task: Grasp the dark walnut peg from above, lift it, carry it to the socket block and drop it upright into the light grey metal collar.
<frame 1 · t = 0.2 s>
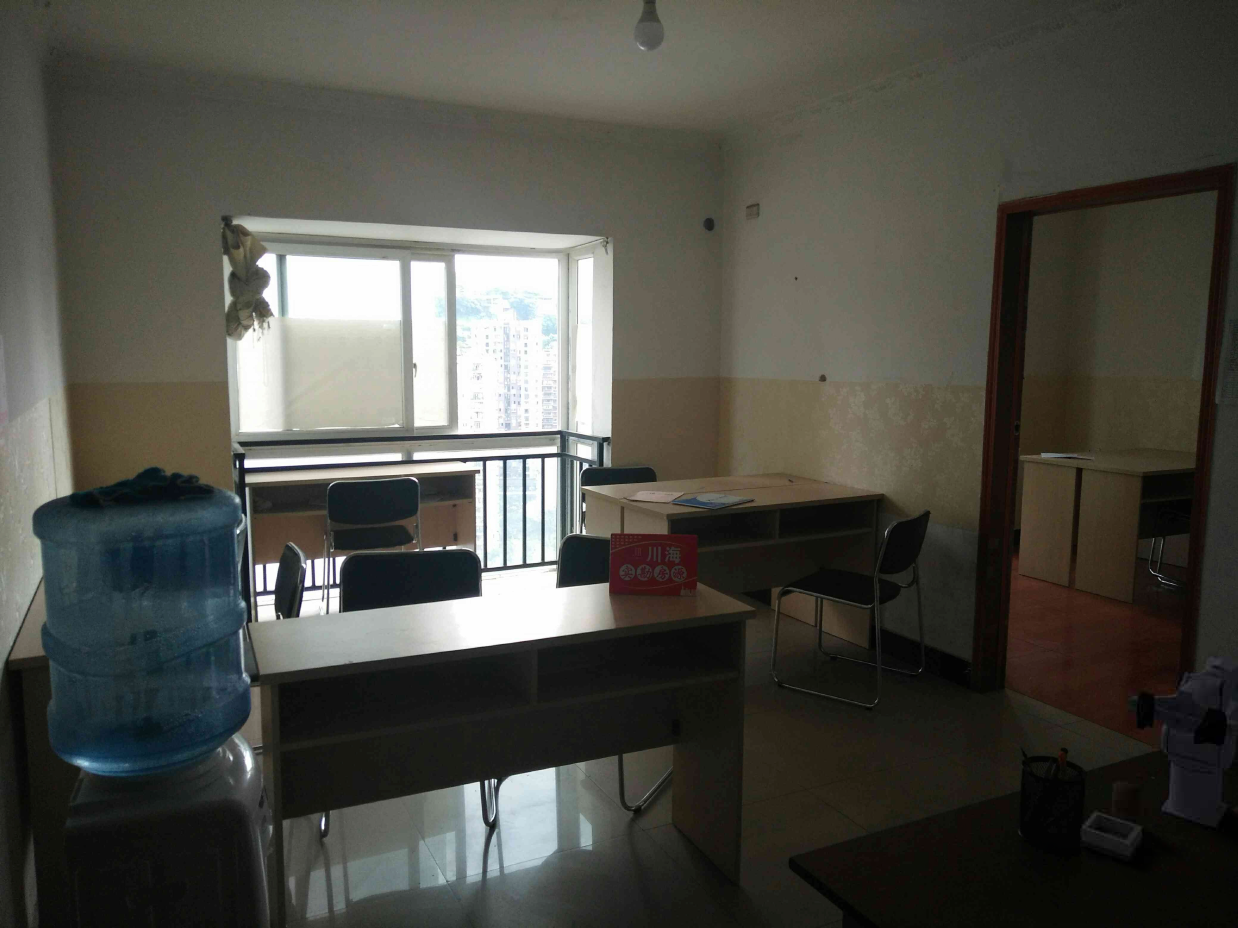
hand: (1167, 729, 134), 21 cm above the table, tool horizontal, fingers open, 7 cm apart
socket block: (1110, 844, 140), on the table
walnut peg: (1124, 826, 145), on the table
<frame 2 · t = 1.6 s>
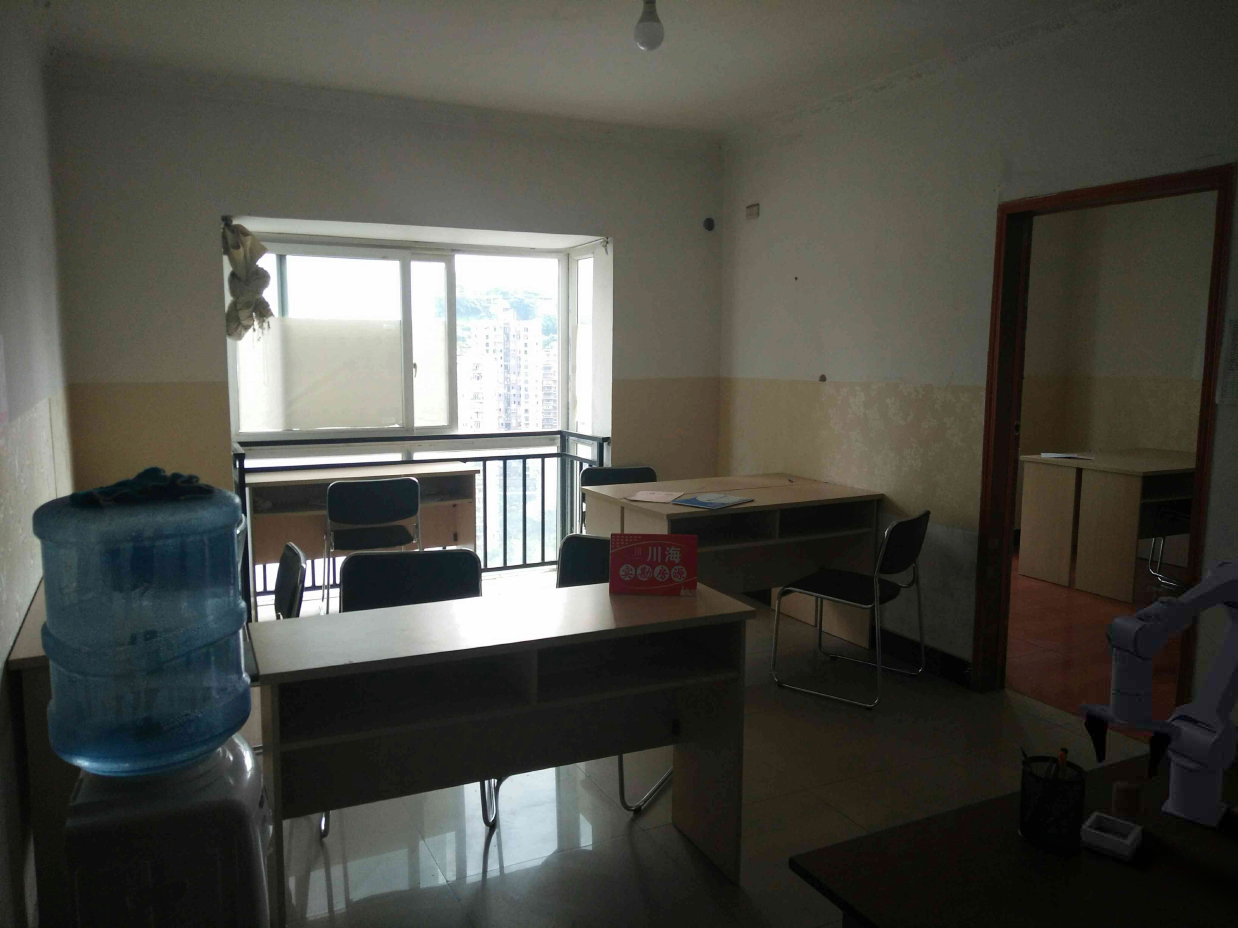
hand: (1126, 767, 144), 10 cm above the table, tool pointing down, fingers open, 7 cm apart
nothing on the table moved.
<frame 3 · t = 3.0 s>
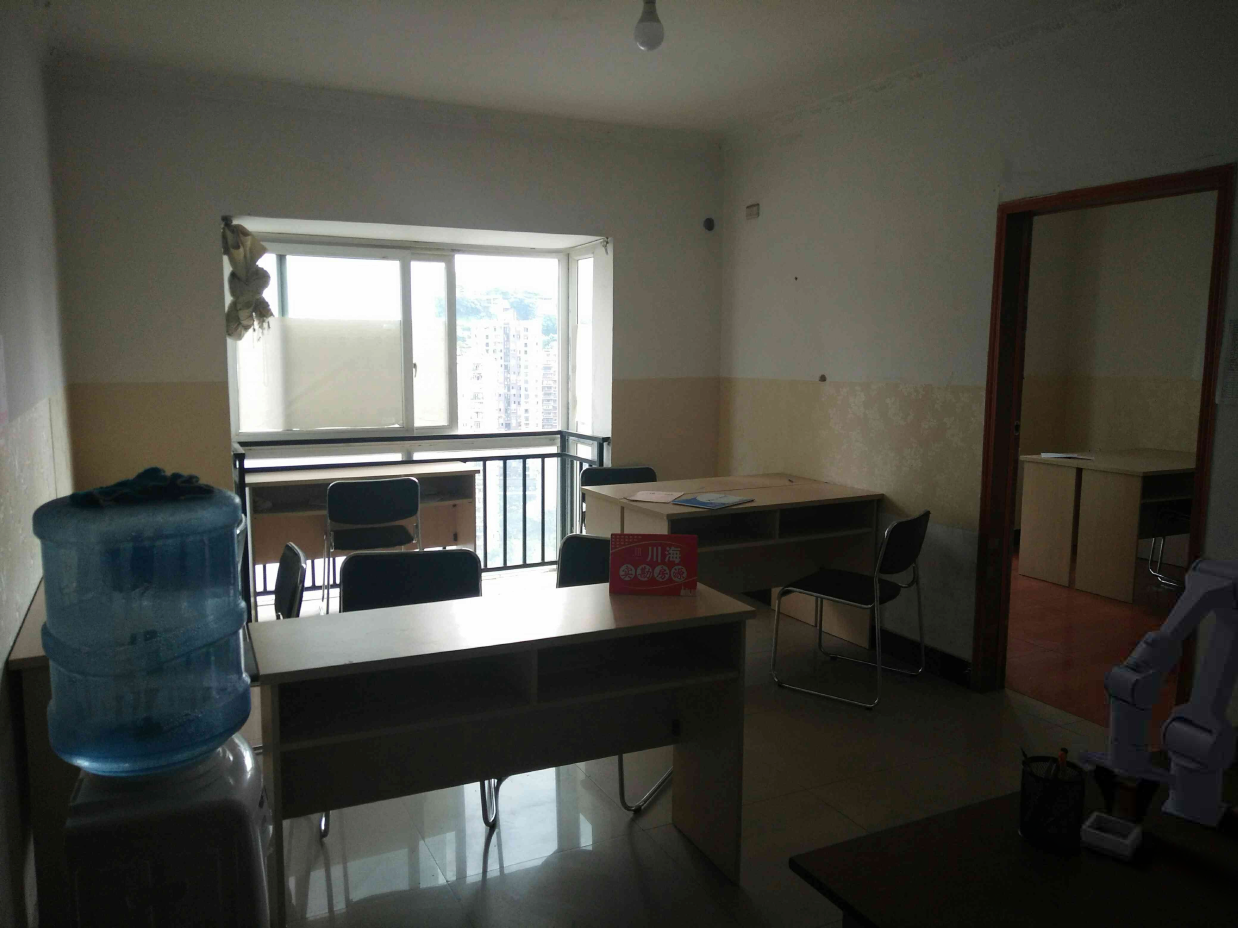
hand: (1125, 815, 145), 2 cm above the table, tool pointing down, fingers closed on walnut peg, 4 cm apart
walnut peg: (1124, 826, 145), on the table, touching gripper
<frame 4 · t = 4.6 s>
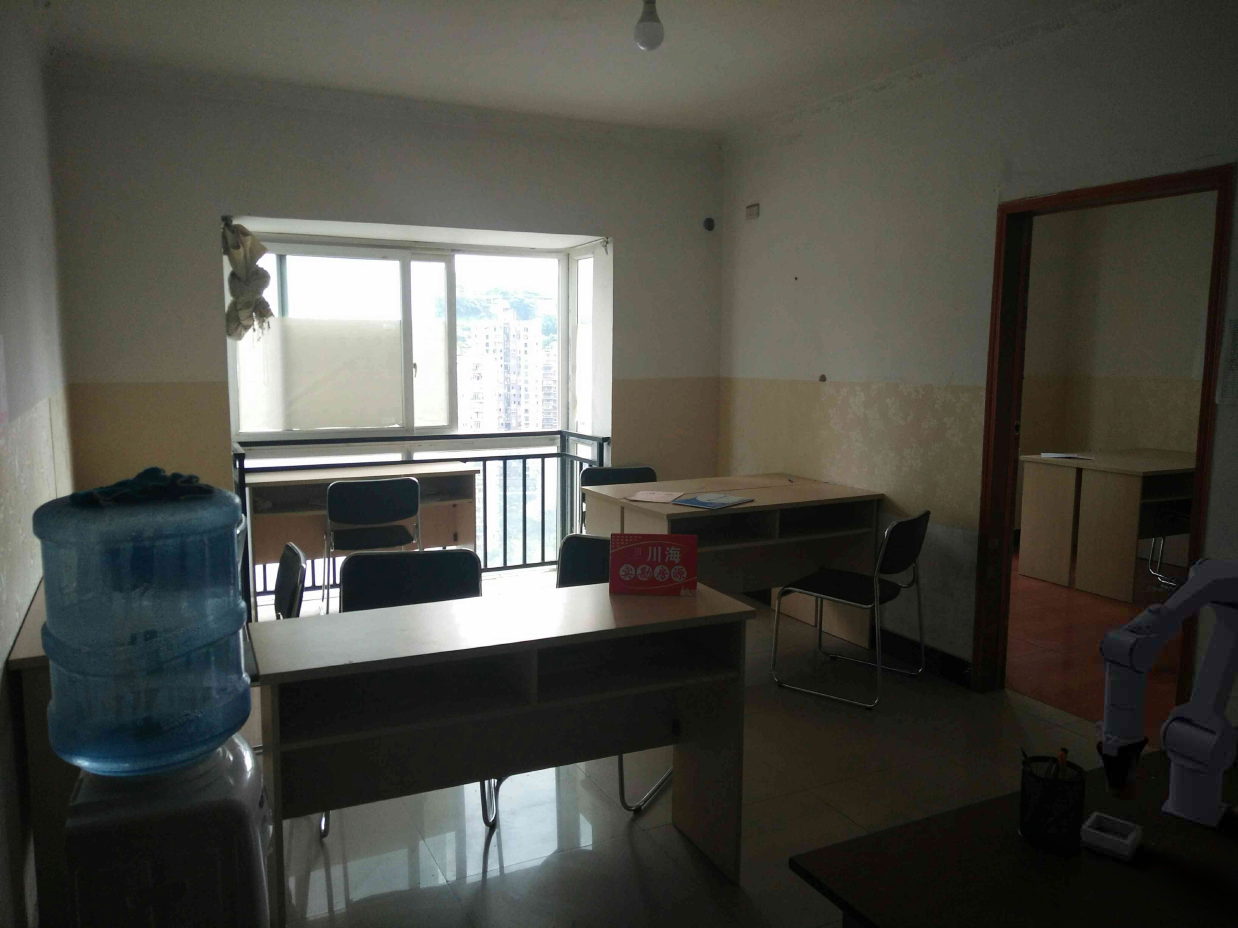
hand: (1120, 782, 142), 9 cm above the table, tool pointing down, fingers closed on walnut peg, 4 cm apart
walnut peg: (1119, 793, 142), point 7 cm above the table, touching gripper
when the fingers open (4 cm above the table, at t = 6.4 s): walnut peg drops 1 cm, resting on socket block.
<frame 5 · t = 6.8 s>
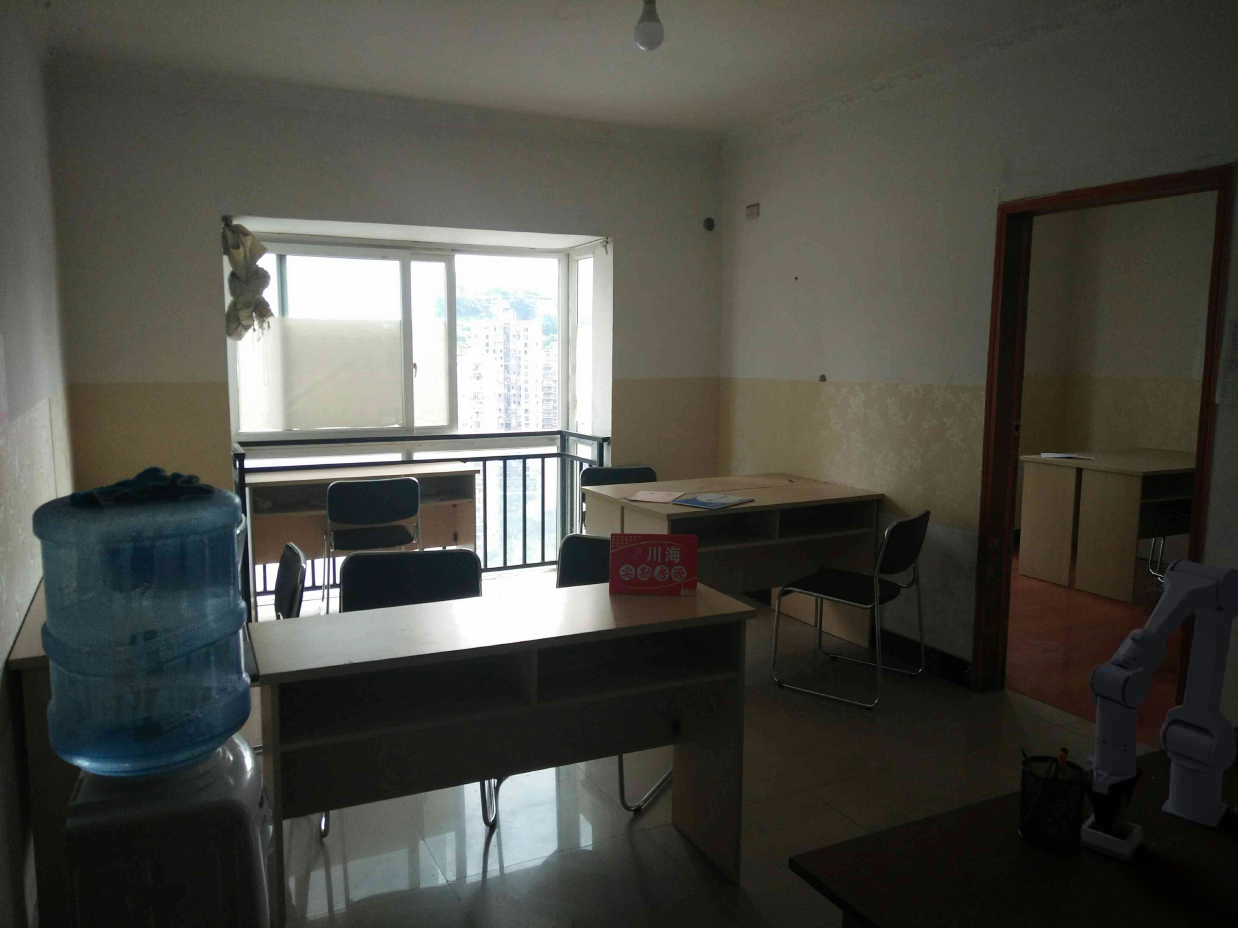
hand: (1111, 818, 140), 4 cm above the table, tool pointing down, fingers open, 7 cm apart
walnut peg: (1110, 838, 140), point 1 cm above the table, touching socket block
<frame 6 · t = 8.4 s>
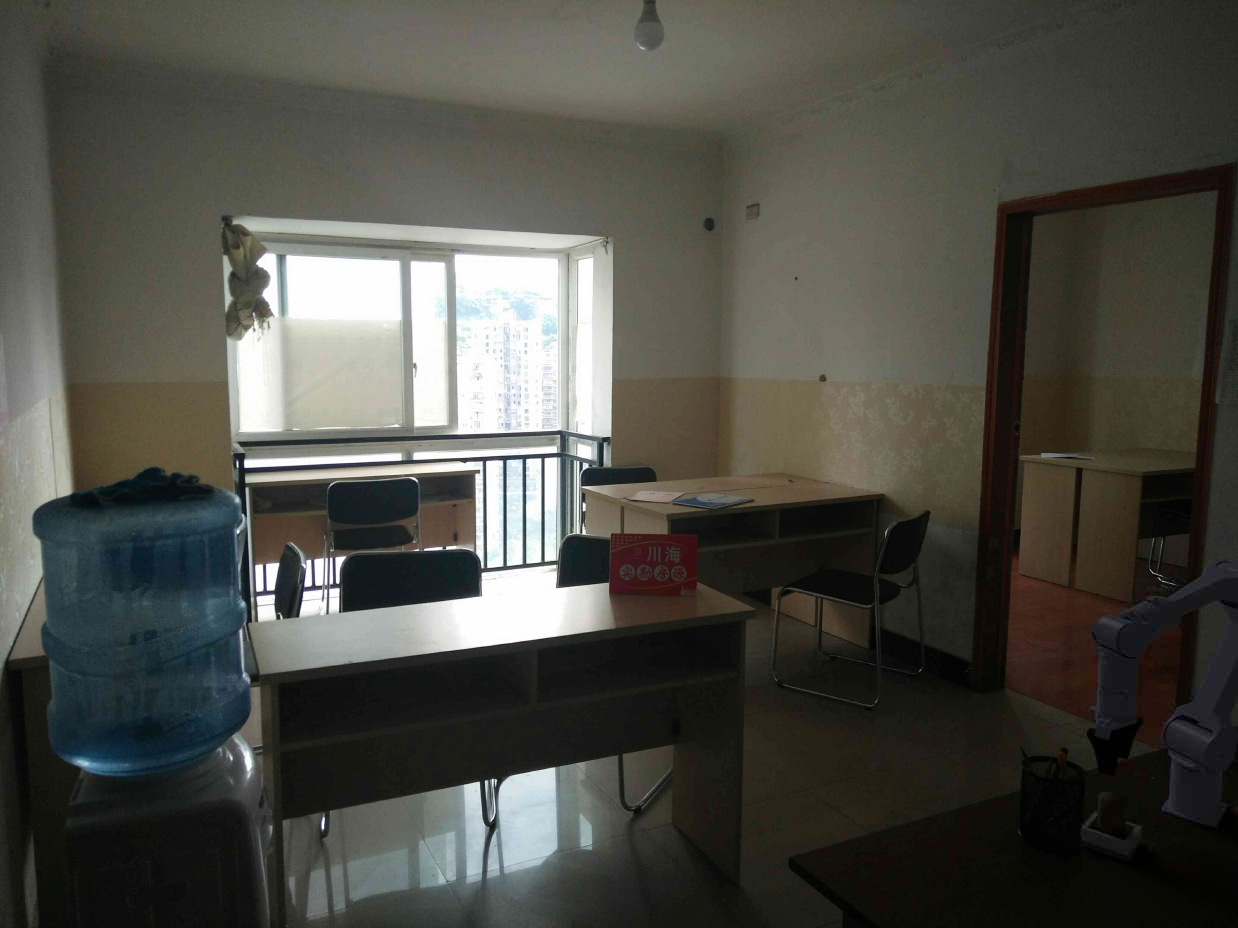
hand: (1113, 765, 145), 10 cm above the table, tool pointing down, fingers open, 7 cm apart
nothing on the table moved.
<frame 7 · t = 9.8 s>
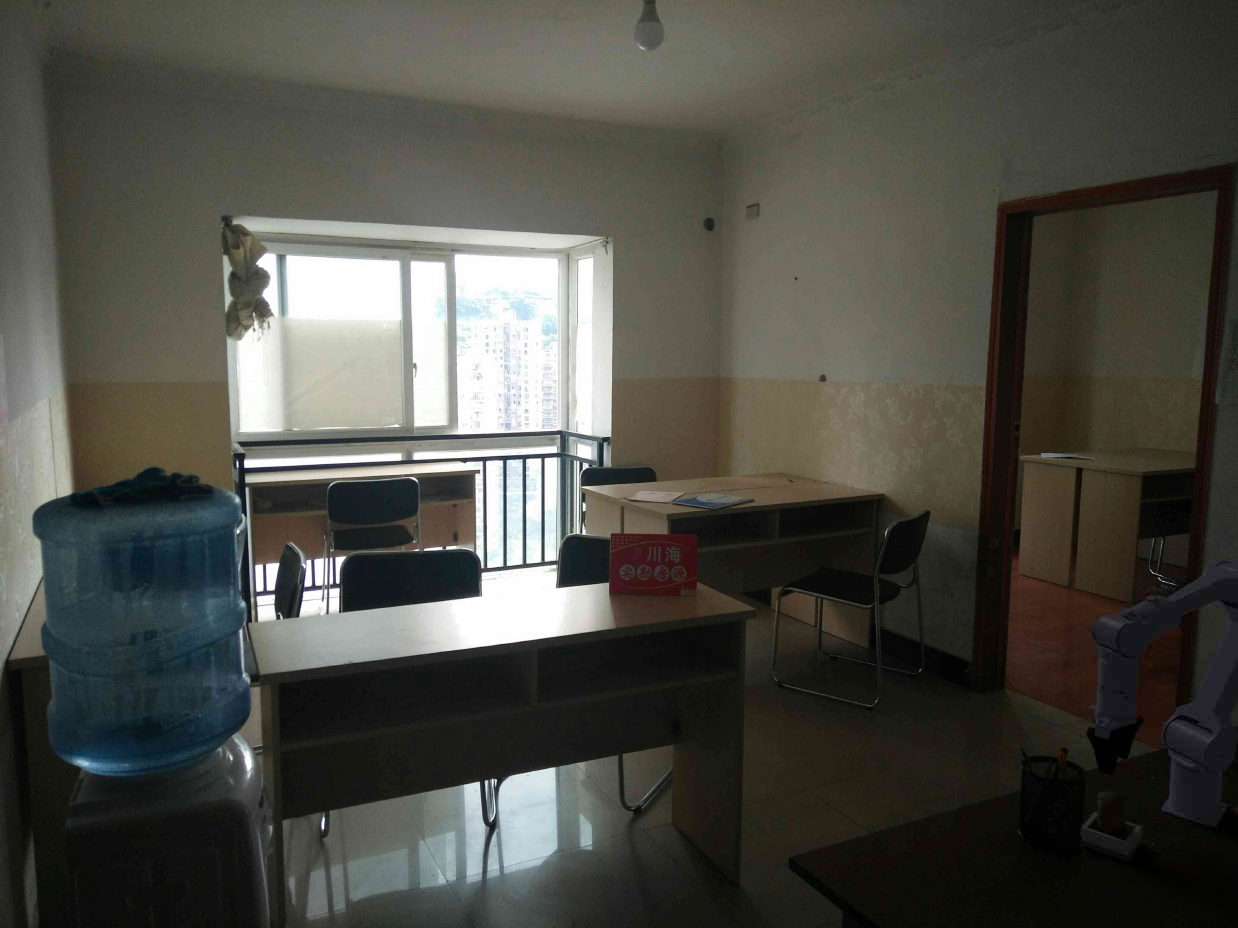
hand: (1113, 764, 145), 10 cm above the table, tool pointing down, fingers open, 7 cm apart
nothing on the table moved.
at the end: walnut peg 0.0 cm off-centre on the socket block, point 1.0 cm above the socket block's base; walnut peg tilted 1°; the gripper is holding nothing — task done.
